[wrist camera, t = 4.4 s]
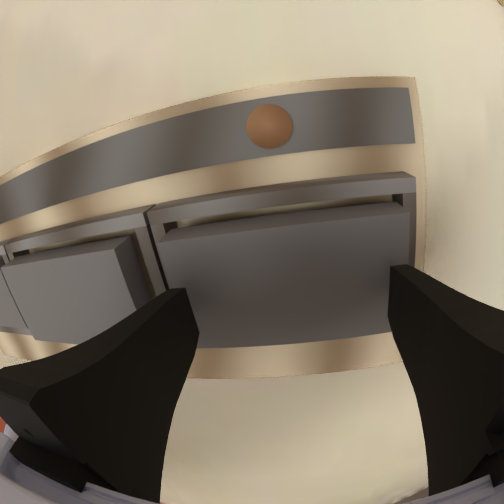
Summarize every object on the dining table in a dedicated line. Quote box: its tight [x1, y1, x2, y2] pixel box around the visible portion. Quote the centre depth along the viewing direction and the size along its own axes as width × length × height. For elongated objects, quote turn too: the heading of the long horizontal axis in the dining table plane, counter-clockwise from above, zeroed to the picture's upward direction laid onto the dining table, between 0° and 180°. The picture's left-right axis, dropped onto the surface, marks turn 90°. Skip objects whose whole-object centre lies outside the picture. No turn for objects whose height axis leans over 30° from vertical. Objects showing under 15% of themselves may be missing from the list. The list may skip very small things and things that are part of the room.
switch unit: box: [0, 77, 426, 379], centre depth 15 cm, size 35×15×3 cm, turn 100°
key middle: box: [1, 236, 152, 344], centre depth 14 cm, size 9×5×2 cm, turn 100°
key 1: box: [157, 202, 410, 349], centre depth 12 cm, size 9×5×2 cm, turn 100°
